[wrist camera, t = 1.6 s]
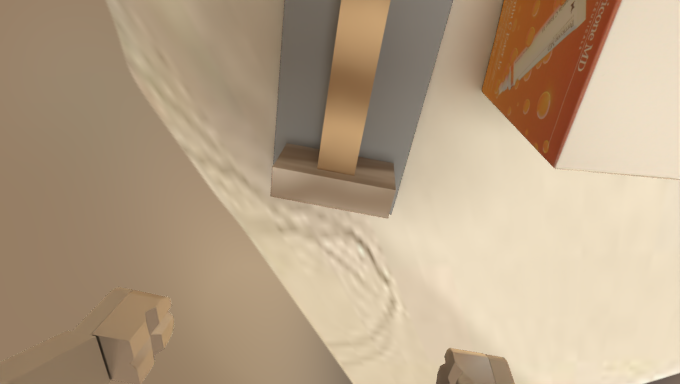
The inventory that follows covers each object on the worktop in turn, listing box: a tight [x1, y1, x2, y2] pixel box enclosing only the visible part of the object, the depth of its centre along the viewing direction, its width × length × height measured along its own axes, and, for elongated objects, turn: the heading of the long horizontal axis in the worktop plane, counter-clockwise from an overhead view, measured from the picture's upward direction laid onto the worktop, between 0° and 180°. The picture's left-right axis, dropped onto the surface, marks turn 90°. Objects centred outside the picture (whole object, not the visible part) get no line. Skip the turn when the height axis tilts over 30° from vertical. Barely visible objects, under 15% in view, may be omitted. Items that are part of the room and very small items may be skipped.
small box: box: [482, 0, 680, 180], centre depth 18 cm, size 8×6×13 cm
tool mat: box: [273, 0, 453, 215], centre depth 27 cm, size 20×11×1 cm, turn 171°
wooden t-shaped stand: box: [270, 0, 396, 218], centre depth 24 cm, size 16×9×4 cm, turn 171°
